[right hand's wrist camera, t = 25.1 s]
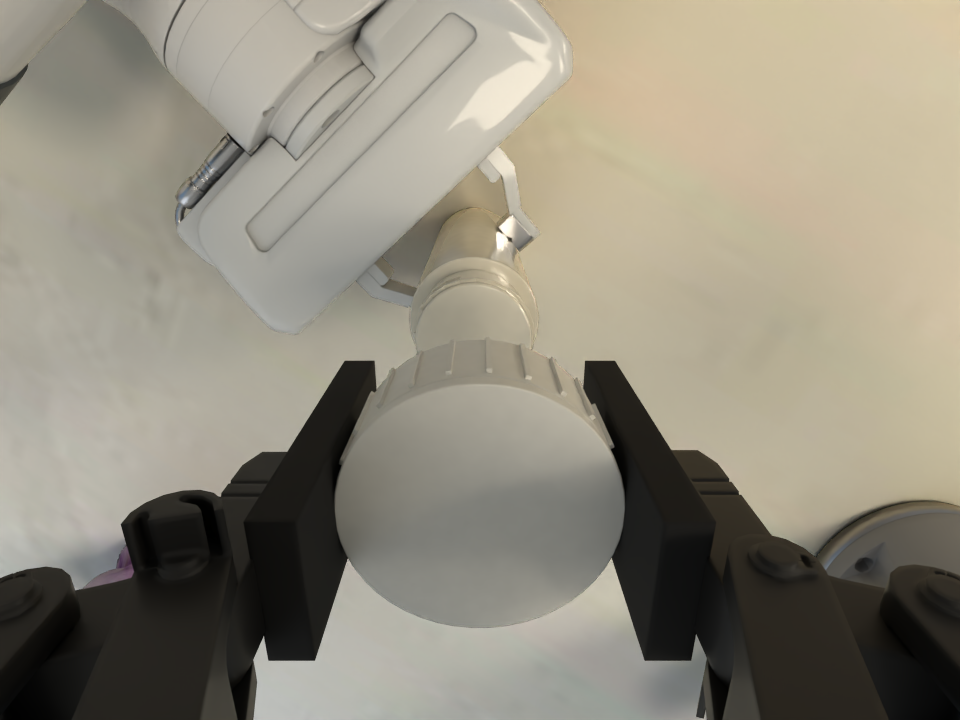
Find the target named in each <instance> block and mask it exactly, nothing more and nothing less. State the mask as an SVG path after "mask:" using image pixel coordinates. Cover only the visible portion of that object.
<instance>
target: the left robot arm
mask: <svg viewBox="0 0 960 720" xmlns="http://www.w3.org/2000/svg"><path fill="white" fill-rule="evenodd" d="M87 1H88V0H0V105H1V104H2V102H3V101H4V100H5V99H6V97H7V96H8V95H9V93H10V92H11V91H12V90H13V88H14V87H15V86H16V84H17V83H18V82H19V81H20V79H21V78H22V77H23V75H24V73H25V72H26V70H27V67H28V63H29V62H30V61H31V60H32V59H33V58H34V57H35V56H36V54H37V53H38V52H39V51H40V50H41V49H42V48H43V47H44V46H45V45H46V44H47V43H48V42H49V41H50V40H51V39H52V38H53V37H54V36H55V35H56V34H57V33H58V31H59V30H60V29H61V28H62V27H63V26H64V25H65V24H66V23H67V22H68V21H69V20H70V19H71V18H72V17H73V16H74V15H75V14H76V13H77V12H78V11H79V9H80V8H81V7H82V6H83V5H84V4H85V3H86V2H87ZM102 1H104V2H105V3H107V4H109V5H110V6H112V7H113V8H115V9H116V10H118V11H119V12H121V13H122V14H123V15H125V16H126V17H127V18H128V19H129V20H131V21H132V22H133V23H134V24H135V25H136V26H137V28H138V29H139V30H140V32H141V33H142V34H143V35H144V37H145V38H146V40H147V41H148V43H149V45H150V46H151V48H152V50H153V52H154V53H155V55H156V56H157V58H158V60H159V61H160V63H161V64H162V65H163V66H164V68H165V69H166V70H167V71H168V72H169V73H170V74H171V75H172V76H173V77H174V78H175V79H176V80H177V81H178V82H179V83H180V84H181V85H182V86H183V87H184V88H185V89H186V90H187V91H188V92H189V94H190V95H191V96H192V97H193V98H194V99H195V100H196V101H197V102H198V103H199V104H200V105H201V106H202V107H203V108H204V109H205V110H206V111H207V112H208V113H209V114H210V115H211V116H212V117H213V118H214V119H215V120H216V121H217V122H218V123H219V124H220V125H221V126H222V127H223V128H224V129H225V130H226V131H227V132H228V133H227V135H226V136H224V137H223V139H222V140H221V141H220V143H219V144H218V145H217V146H216V147H215V148H214V149H213V150H212V151H211V153H210V154H209V155H208V157H207V158H206V159H205V161H204V163H203V164H202V165H201V167H200V168H199V169H198V171H197V172H196V173H195V174H194V175H193V177H189V178H188V179H187V180H186V181H185V182H184V183H183V184H182V185H181V187H180V188H179V190H178V191H177V194H176V200H177V201H178V202H179V203H178V204H177V208H176V211H175V221H176V226H177V232H178V234H179V236H180V237H181V239H182V240H183V241H184V242H185V243H186V244H187V245H188V246H189V247H190V248H191V249H192V250H193V251H194V252H196V253H197V254H198V255H199V256H200V257H201V258H202V259H203V260H204V261H206V262H207V263H209V264H210V265H213V266H215V267H216V268H217V270H218V271H219V272H220V274H221V275H222V276H223V277H224V279H225V280H226V281H227V282H228V284H229V285H230V286H231V287H232V289H233V290H234V291H235V292H236V293H237V294H238V295H239V297H240V298H241V299H242V300H243V301H244V302H245V303H246V305H247V306H248V307H249V308H250V309H251V310H252V311H253V312H254V313H255V314H256V315H257V316H258V317H259V318H260V319H261V320H262V321H263V322H264V323H265V324H266V325H267V326H268V327H269V328H270V329H272V330H273V331H276V332H280V333H285V334H292V335H297V334H299V333H301V332H302V331H303V330H304V329H305V328H306V327H307V326H308V325H309V324H310V323H311V322H312V321H313V320H314V319H316V318H317V317H318V316H319V315H320V314H321V313H322V312H323V311H324V310H325V309H326V308H327V307H328V306H329V305H330V304H331V303H332V302H334V301H335V300H336V299H337V298H338V297H339V296H340V295H341V294H342V293H343V292H344V291H345V290H346V289H347V288H348V287H349V286H350V285H352V284H353V283H354V282H355V281H356V282H357V283H358V284H359V285H360V286H361V287H362V288H363V289H364V290H365V291H366V292H367V293H368V294H369V295H370V296H371V297H373V298H377V299H380V300H384V301H387V302H391V303H394V304H397V305H401V306H404V307H409V306H410V307H411V303H412V300H413V297H414V294H415V292H416V289H417V288H415V287H412V286H409V285H406V284H403V283H400V282H397V281H394V280H391V279H390V277H391V276H392V274H393V273H394V269H393V268H392V267H391V266H390V265H389V264H388V263H387V262H386V261H385V259H384V258H383V257H382V255H383V254H384V253H385V252H386V251H388V250H389V249H390V248H391V247H392V246H393V245H394V244H395V243H396V242H397V241H398V240H399V239H400V238H401V237H402V236H403V235H404V234H406V233H407V232H408V231H409V230H410V229H411V228H412V227H413V226H414V225H415V224H416V223H417V222H418V221H419V220H420V219H421V218H423V217H424V216H425V215H426V214H427V213H428V212H429V211H430V210H431V209H432V208H433V207H434V206H435V205H436V204H437V203H438V202H439V201H441V200H442V199H443V198H444V197H445V196H446V195H447V194H448V193H449V192H450V191H451V190H452V189H453V188H454V187H455V186H456V185H457V184H459V183H460V182H461V181H462V180H463V179H464V178H465V177H466V176H467V175H468V174H469V173H470V172H471V171H472V170H473V169H474V168H475V167H478V168H479V169H480V170H481V171H482V173H483V174H484V175H485V176H486V177H487V178H488V179H489V181H490V182H491V183H495V182H496V181H497V180H498V179H499V178H500V175H501V179H502V185H503V190H504V195H505V201H506V206H507V211H508V212H507V213H506V214H505V215H504V216H503V217H502V218H501V219H500V220H499V221H498V222H497V224H498V228H499V229H500V230H501V231H502V232H503V233H504V234H505V235H506V236H507V237H509V238H511V241H512V243H513V245H514V246H515V247H516V248H517V250H518V251H521V250H523V249H524V248H525V247H526V246H527V245H528V244H530V243H531V242H532V241H533V240H534V239H535V238H537V237H538V236H539V235H540V234H541V232H540V230H539V229H538V228H537V227H536V225H535V224H534V223H533V222H532V221H531V219H530V218H529V217H528V216H527V215H526V213H525V212H524V211H523V210H522V209H521V207H520V206H521V200H520V194H519V188H518V183H517V177H516V171H515V165H514V164H513V163H512V162H511V160H510V159H509V158H508V157H507V155H506V154H505V153H504V152H503V150H502V149H501V148H500V147H499V145H500V144H501V143H502V142H503V141H504V140H505V139H506V138H507V137H508V136H509V135H510V134H511V133H513V132H514V131H515V130H516V129H517V128H518V127H519V126H520V125H521V124H522V123H523V122H524V121H525V120H526V119H527V118H528V117H530V116H531V115H532V114H533V113H534V112H535V111H536V110H537V109H538V108H539V107H540V106H541V105H542V104H543V103H544V102H545V101H546V100H548V99H549V98H550V97H551V96H552V95H553V94H554V93H555V92H556V91H557V90H558V89H559V88H560V87H561V86H562V85H563V84H564V83H565V82H567V81H568V80H569V79H570V78H571V76H572V73H573V48H572V45H571V43H570V41H569V39H568V38H567V36H566V35H565V34H564V32H563V31H562V29H561V28H560V27H559V26H558V24H557V23H556V22H555V21H554V19H553V18H552V17H551V16H550V14H549V13H548V12H547V11H546V10H545V8H544V7H543V6H542V5H541V4H540V3H539V1H538V0H102ZM213 185H214V186H213ZM186 208H187V209H192V208H193V209H192V210H191V211H190V212H189V213H188V214H187V215H186V216H185V217H184V213H185V209H186Z"/></svg>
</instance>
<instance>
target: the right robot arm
mask: <svg viewBox="0 0 960 720" xmlns="http://www.w3.org/2000/svg"><path fill="white" fill-rule="evenodd" d="M583 389H584V392H585V394H586V396H587V398H588V399H589V401H590V403H591V405H592V404H594V403H595V405H596V407H597V409H598V411H599V413H600V416H601V418H602V420H603V422H604V424H605V427H606V429H607V431H608V433H609V436H610V438H611V440H612V442H613V444H614V448H612V449H611V451H612V453H613V455H614V458H615V460H616V463H617V465H618V468H619V471H620V473H621V476H622V481H623V485H624V490H625V513H624V522H623V529H622V533H621V537H620V540H619V543H618V545H617V547H616V550H615V552H614V554H613V556H612V560H613V563H614V566H615V569H616V572H617V576H618V579H619V582H620V585H621V588H622V591H623V594H624V597H625V600H626V604H627V607H628V610H629V613H630V616H631V619H632V622H633V625H634V629H635V632H636V635H637V638H638V641H639V644H640V647H641V650H642V653H643V657H644V660H645V661H691V659H692V653H693V648H694V642H695V637H696V634H697V637H698V639H699V641H700V643H701V646H702V648H703V650H704V652H705V655H706V657H707V661H706V667H705V672H704V677H703V682H702V687H701V692H700V697H699V702H698V708H697V715H696V717H699V718H703V719H704V715H705V710H706V715H707V720H960V507H958V506H956V505H952V504H948V503H941V502H929V501H926V502H911V503H905V504H899V505H895V506H891V507H888V508H885V509H882V510H879V511H876V512H874V513H872V514H869V515H867V516H865V517H863V518H861V519H859V520H858V521H856V522H854V523H853V524H851V525H849V526H848V527H847V528H845V529H844V530H842V531H841V532H840V533H839V534H837V535H836V536H835V537H834V538H833V539H832V540H831V541H830V542H829V543H828V544H827V545H826V546H825V547H824V548H823V549H822V550H821V552H820V553H819V555H818V556H817V557H815V556H813V555H812V554H811V553H809V552H808V551H807V550H806V549H804V548H803V547H801V546H799V545H796V544H794V543H792V542H790V541H788V540H786V539H783V538H779V537H775V536H772V535H771V534H770V533H769V531H768V530H767V529H766V527H765V526H764V525H763V523H762V522H761V521H760V519H759V518H758V517H757V515H756V514H755V513H754V511H753V510H752V509H751V507H750V506H749V505H748V503H747V502H746V501H745V499H744V498H743V497H742V495H739V491H738V490H737V489H736V487H735V486H734V485H733V483H732V482H729V478H728V477H727V475H726V474H725V473H724V471H723V470H722V469H721V467H720V466H719V465H718V463H716V462H715V461H713V460H712V459H710V458H709V457H707V456H706V455H704V454H703V453H701V452H700V451H698V450H671V449H670V448H669V446H668V444H667V443H666V441H665V440H664V438H663V436H662V435H661V433H660V432H659V430H658V429H657V427H656V425H655V424H654V422H653V421H652V419H651V417H650V416H649V414H648V413H647V411H646V409H645V408H644V406H643V405H642V403H641V402H640V400H639V398H638V397H637V395H636V394H635V392H634V390H633V389H632V387H631V386H630V384H629V382H628V381H627V379H626V378H625V376H624V375H623V373H622V371H621V370H620V368H619V367H618V365H617V363H616V362H615V361H585V371H584V385H583ZM371 391H372V392H374V393H375V392H376V376H375V362H374V361H344V363H343V365H342V366H341V368H340V369H339V371H338V372H337V374H336V376H335V377H334V379H333V380H332V382H331V384H330V385H329V387H328V388H327V390H326V391H325V393H324V395H323V396H322V398H321V399H320V401H319V403H318V404H317V406H316V407H315V409H314V410H313V412H312V414H311V415H310V417H309V418H308V420H307V422H306V423H305V425H304V426H303V428H302V430H301V431H300V433H299V434H298V436H297V437H296V439H295V441H294V442H293V444H292V445H291V447H290V449H289V450H288V452H262V453H260V454H259V455H257V456H256V457H254V458H253V459H251V460H250V461H248V462H247V463H245V464H244V465H242V466H241V468H240V469H239V471H238V472H237V473H236V475H235V476H234V477H233V479H232V480H231V484H228V485H227V487H226V488H225V489H224V491H223V492H222V493H221V497H218V496H217V495H216V494H214V493H211V492H207V491H202V490H188V491H179V492H175V493H171V494H167V495H163V496H161V497H158V498H156V499H153V500H151V501H149V502H146V503H144V504H143V505H141V506H140V507H138V508H137V509H136V510H134V511H133V512H131V513H130V514H129V515H128V516H127V518H126V519H125V520H124V521H123V522H122V524H121V527H122V530H123V534H124V538H125V541H126V545H127V548H128V552H129V556H130V559H131V563H132V566H133V570H134V573H133V575H132V577H131V578H128V579H125V580H121V581H117V582H113V583H108V584H103V585H99V586H94V587H90V588H85V589H80V590H76V591H75V589H74V586H73V583H72V580H71V577H70V575H69V574H68V573H66V572H65V571H64V570H62V569H59V568H52V567H41V568H34V569H27V570H23V571H19V572H16V573H14V574H13V573H12V574H10V575H7V576H4V577H2V578H0V720H253V717H254V707H255V697H256V688H257V679H256V672H255V667H254V661H253V659H254V657H255V654H256V652H257V650H258V648H259V645H260V643H261V641H262V639H263V636H264V639H265V644H266V650H267V655H268V660H269V661H315V659H316V656H317V652H318V649H319V646H320V643H321V640H322V637H323V634H324V631H325V627H326V624H327V621H328V618H329V615H330V612H331V609H332V606H333V603H334V599H335V596H336V593H337V590H338V587H339V584H340V581H341V578H342V574H343V571H344V568H345V565H346V562H347V559H348V557H347V556H346V553H345V551H344V549H343V547H342V544H341V542H340V539H339V535H338V532H337V526H336V517H335V508H334V492H335V487H336V482H337V477H338V474H339V471H340V469H341V466H342V465H340V464H339V461H340V458H341V456H342V454H343V452H344V450H345V447H346V445H347V443H348V441H349V438H350V436H351V434H352V432H353V429H354V427H355V425H356V423H357V421H358V419H359V417H360V414H361V412H362V410H363V408H364V405H365V403H366V401H367V399H368V396H369V394H370V393H371Z"/></svg>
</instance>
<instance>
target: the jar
mask: <svg viewBox="0 0 960 720" xmlns="http://www.w3.org/2000/svg"><path fill="white" fill-rule="evenodd" d="M500 219H501V218H500V217H499V216H497V215H496V214H495V213H493V212H491V211H489V210H486V209H482V208H468V209H464V210H461V211H459V212H456V213H455V214H453V215H452V216H451V217H450V218H448V219H447V221H446V222H445V223H444V224H443V226H442V228H441V230H440V232H439V234H438V237H437V239H436V242H435V244H434V247H433V249H432V252H431V254H430V257H429V259H428V262H427V264H426V267H425V269H424V272H423V274H422V277H421V279H420V282H419V284H418V287H417V289H416V292H415V294H414V297H413V300H412V303H411V307H410V314H409V323H410V331H411V335H412V338H413V341H414V343H415V345H416V349H417V352H418V351H420V350H422V351H423V352H424V351H426V350H429V349H431V348H434V347H436V346H440V345H444V344H448V343H450V340H454V339H455V341H456V342H457V341H465V340H485V337H490V338H491V340H494V341H503V342H508V343H512V344H516V345H520V343H522V344H525V348H528V349H530V350H532V348H533V343H534V341H535V338H536V334H537V331H538V323H539V315H538V307H537V304H536V300H535V297H534V294H533V292H532V289H531V286H530V284H529V281H528V278H527V276H526V273H525V270H524V268H523V265H522V262H521V260H520V257H519V254H518V252H517V249H516V247H515V246H514V245H513V243H512V241H511V238H509V237H507V236H506V235H505V234H504V233H503V232H502V231H501V230H500V229H499V228H498V224H497V222H498V221H499V220H500Z"/></svg>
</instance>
